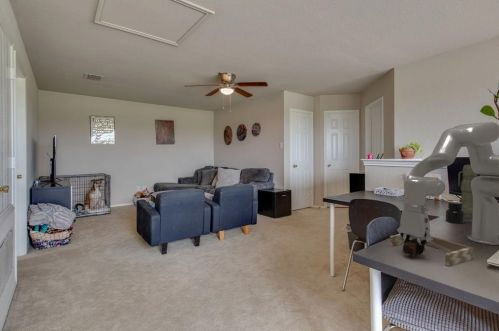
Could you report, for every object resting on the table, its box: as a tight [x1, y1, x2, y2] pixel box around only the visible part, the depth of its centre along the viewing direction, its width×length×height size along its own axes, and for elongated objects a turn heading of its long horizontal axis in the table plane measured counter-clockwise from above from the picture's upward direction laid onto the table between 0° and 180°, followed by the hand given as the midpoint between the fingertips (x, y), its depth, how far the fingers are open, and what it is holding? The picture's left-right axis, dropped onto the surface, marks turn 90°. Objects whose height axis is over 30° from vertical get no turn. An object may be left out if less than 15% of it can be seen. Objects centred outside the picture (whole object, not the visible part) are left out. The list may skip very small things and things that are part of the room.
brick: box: [402, 238, 426, 257], centre depth 108 cm, size 11×4×5 cm, turn 123°
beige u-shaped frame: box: [389, 233, 474, 267], centre depth 112 cm, size 17×24×4 cm
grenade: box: [457, 163, 483, 220], centre depth 171 cm, size 9×12×35 cm
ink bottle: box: [445, 201, 465, 224], centre depth 160 cm, size 10×9×12 cm
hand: (413, 251), depth 108 cm, fingers closed on brick, 4 cm apart
